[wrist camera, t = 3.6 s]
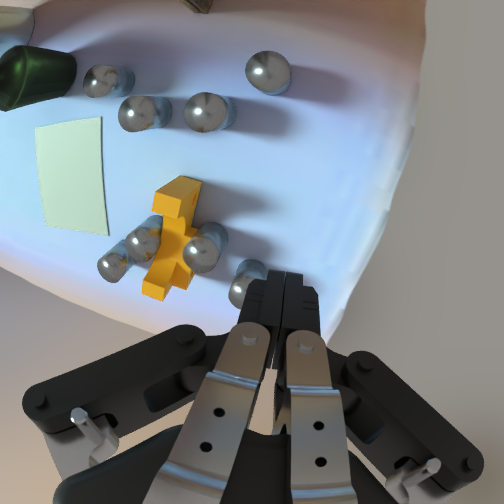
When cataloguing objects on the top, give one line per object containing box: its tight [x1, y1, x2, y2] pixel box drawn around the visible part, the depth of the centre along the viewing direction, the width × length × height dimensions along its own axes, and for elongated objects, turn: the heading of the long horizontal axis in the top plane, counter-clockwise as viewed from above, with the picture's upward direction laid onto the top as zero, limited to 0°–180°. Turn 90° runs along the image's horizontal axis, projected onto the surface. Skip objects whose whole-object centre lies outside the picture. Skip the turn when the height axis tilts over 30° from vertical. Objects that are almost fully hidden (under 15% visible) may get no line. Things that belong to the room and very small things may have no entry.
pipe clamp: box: [142, 175, 202, 302], centre depth 29 cm, size 12×4×6 cm, turn 162°
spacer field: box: [83, 51, 291, 309], centre depth 27 cm, size 26×21×5 cm
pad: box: [35, 117, 109, 236], centre depth 31 cm, size 16×14×1 cm
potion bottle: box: [0, 45, 76, 112], centre depth 16 cm, size 8×8×18 cm
